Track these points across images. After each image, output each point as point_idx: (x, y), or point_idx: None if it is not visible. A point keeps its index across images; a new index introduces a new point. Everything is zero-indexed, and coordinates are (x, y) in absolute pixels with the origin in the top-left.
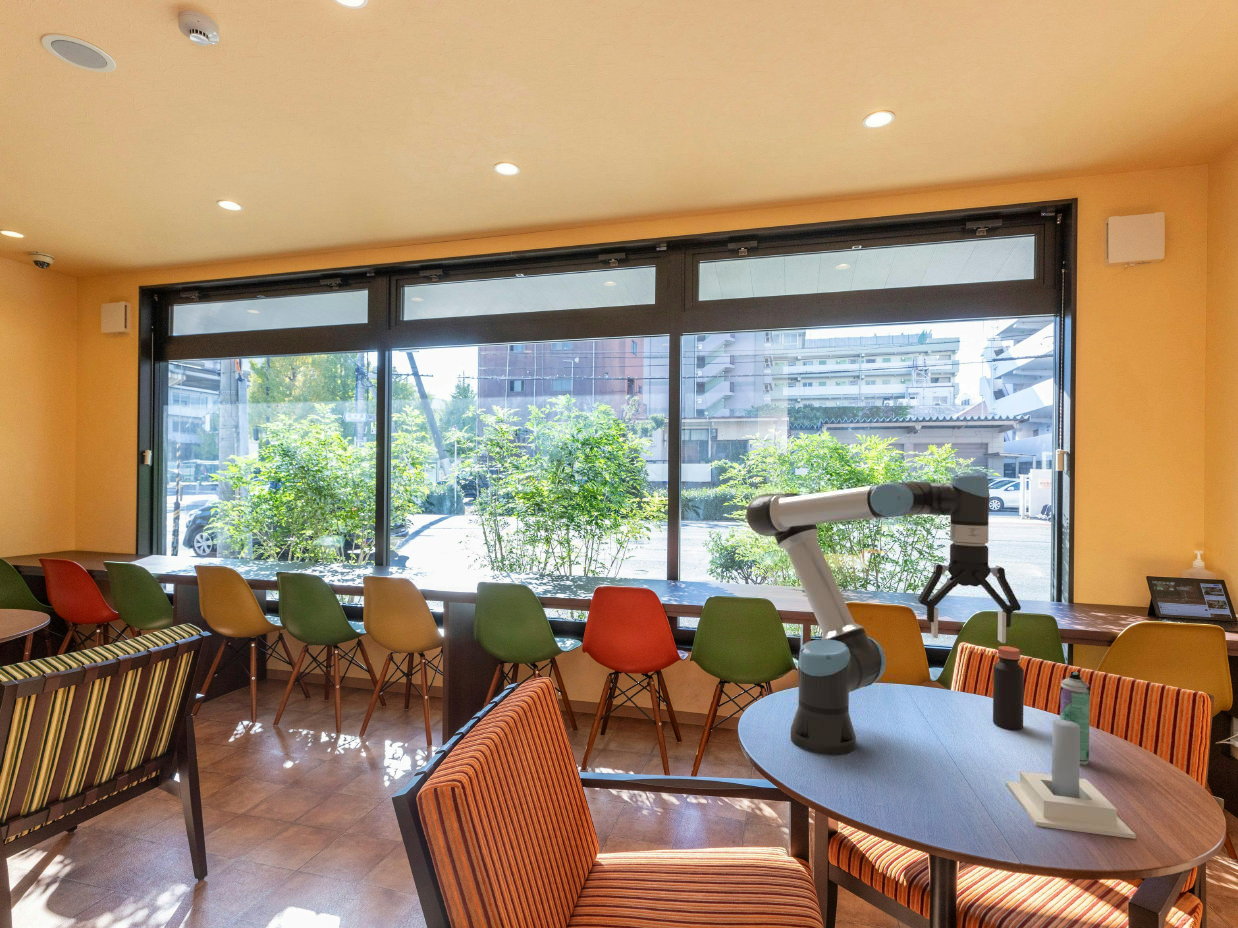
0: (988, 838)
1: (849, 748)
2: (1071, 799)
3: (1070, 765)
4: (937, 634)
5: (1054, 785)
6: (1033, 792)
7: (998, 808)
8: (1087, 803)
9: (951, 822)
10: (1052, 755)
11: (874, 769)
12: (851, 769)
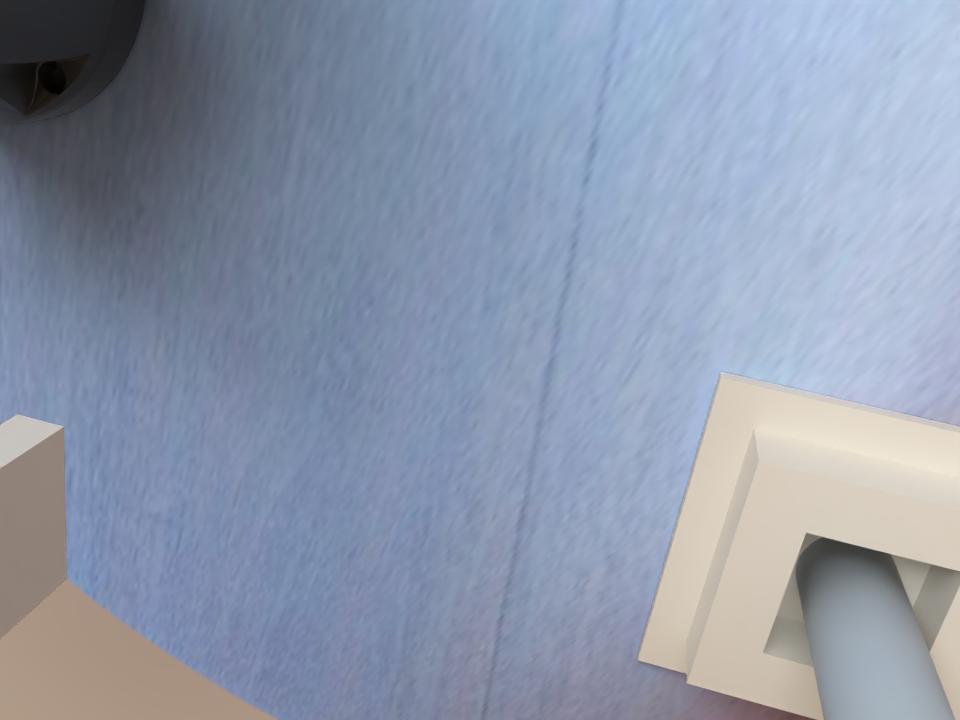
0: (434, 697)
1: (93, 89)
2: (815, 683)
3: None
4: (26, 609)
5: (805, 624)
6: (713, 586)
7: (569, 546)
8: None
9: (356, 617)
10: (831, 691)
11: (190, 250)
12: (98, 255)
